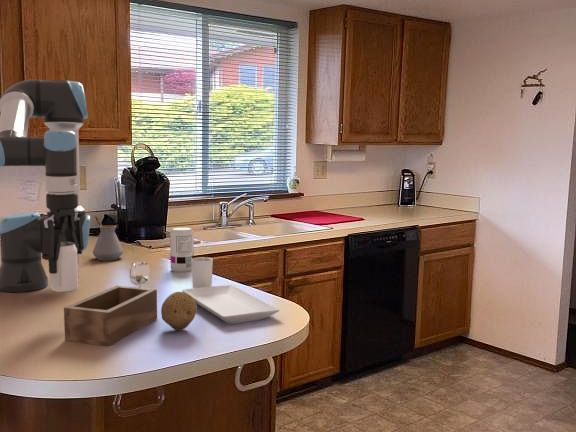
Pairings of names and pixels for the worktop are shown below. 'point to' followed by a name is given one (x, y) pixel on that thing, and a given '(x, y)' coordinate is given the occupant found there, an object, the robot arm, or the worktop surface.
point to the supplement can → (181, 249)
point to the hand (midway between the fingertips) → (64, 281)
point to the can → (68, 268)
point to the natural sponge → (178, 310)
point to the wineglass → (139, 273)
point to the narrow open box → (110, 315)
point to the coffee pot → (107, 243)
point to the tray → (231, 303)
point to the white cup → (202, 272)
